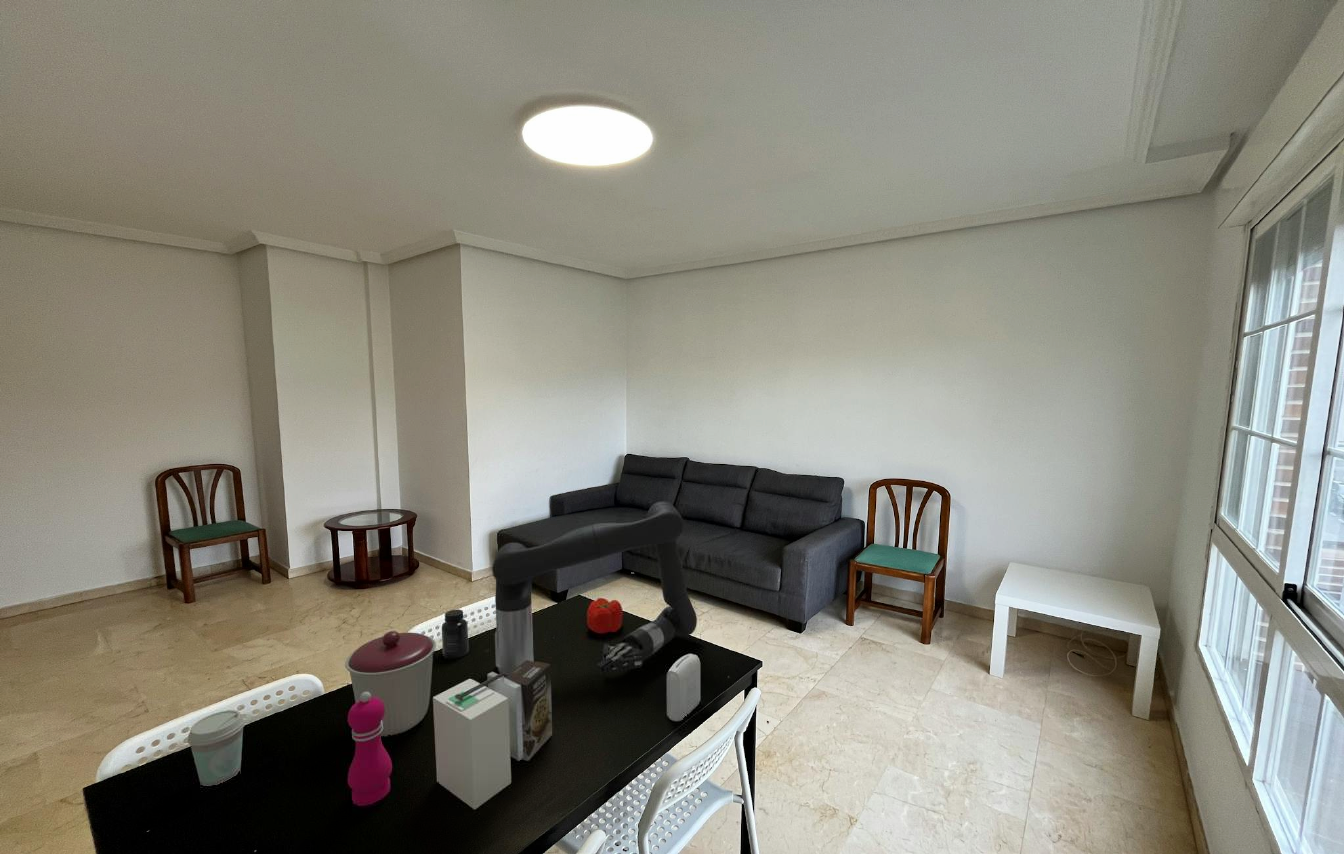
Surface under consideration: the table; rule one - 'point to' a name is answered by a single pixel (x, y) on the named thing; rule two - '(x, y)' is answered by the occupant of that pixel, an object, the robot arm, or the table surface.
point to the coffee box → (534, 704)
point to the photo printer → (683, 687)
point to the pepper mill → (368, 752)
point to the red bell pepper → (604, 616)
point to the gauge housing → (472, 742)
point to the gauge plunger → (514, 708)
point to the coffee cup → (217, 746)
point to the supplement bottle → (455, 635)
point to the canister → (395, 677)
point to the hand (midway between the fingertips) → (599, 669)
